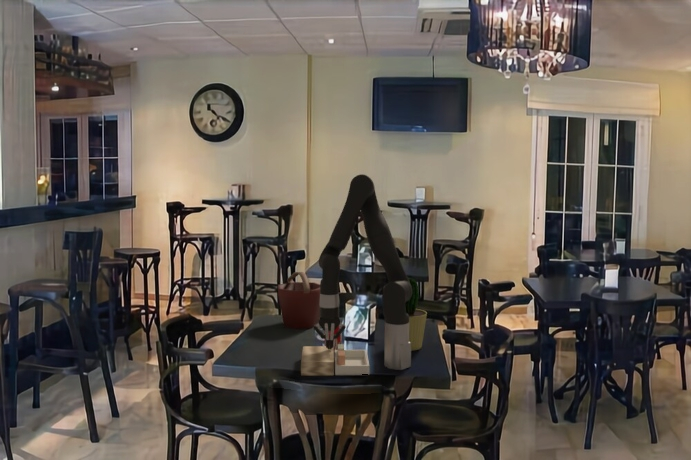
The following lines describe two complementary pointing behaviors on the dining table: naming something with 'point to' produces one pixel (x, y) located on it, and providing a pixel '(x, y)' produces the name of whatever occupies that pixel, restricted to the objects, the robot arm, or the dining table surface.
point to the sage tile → (340, 347)
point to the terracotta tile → (341, 357)
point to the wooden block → (317, 360)
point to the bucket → (299, 302)
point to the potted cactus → (415, 318)
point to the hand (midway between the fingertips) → (329, 348)
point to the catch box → (353, 363)
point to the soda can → (335, 341)
